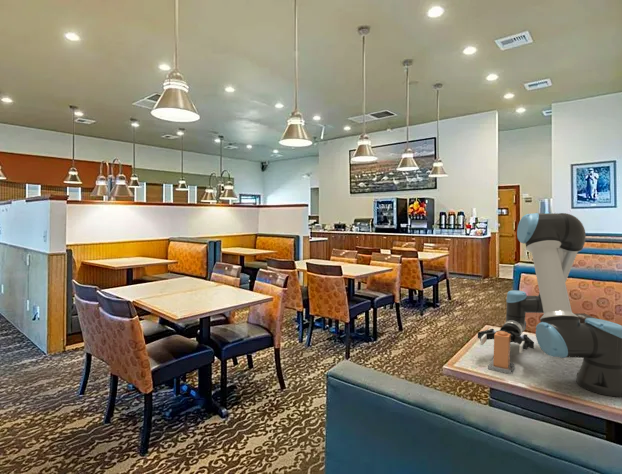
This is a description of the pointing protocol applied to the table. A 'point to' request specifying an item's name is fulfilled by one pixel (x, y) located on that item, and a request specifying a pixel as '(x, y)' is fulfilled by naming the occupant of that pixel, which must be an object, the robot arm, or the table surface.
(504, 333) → the orange capped block
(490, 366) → the junction plate
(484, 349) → the table surface
